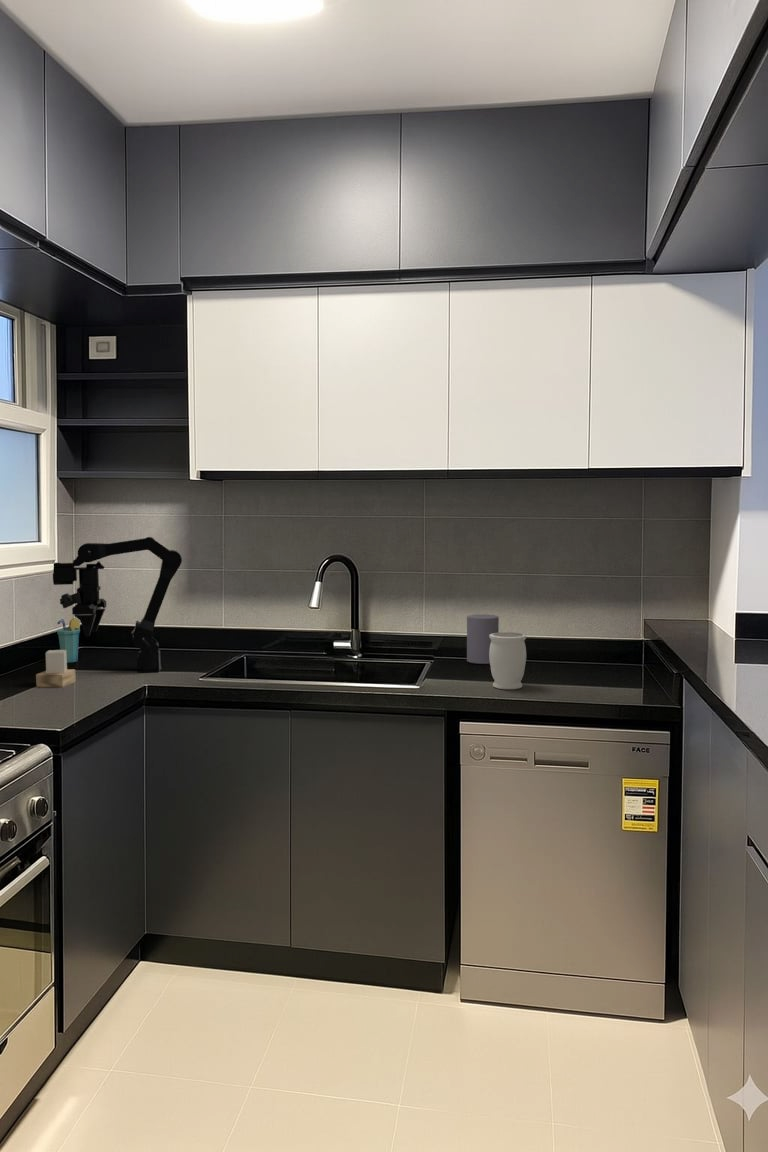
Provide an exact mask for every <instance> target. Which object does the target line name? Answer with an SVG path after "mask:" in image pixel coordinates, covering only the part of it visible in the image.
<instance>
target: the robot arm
mask: <svg viewBox="0 0 768 1152" xmlns="http://www.w3.org/2000/svg"><path fill="white" fill-rule="evenodd" d="M141 551H149V552H151V553H152V554H153V555H155V556H156V557H157V558H159V559H160V560H161V565H160V570H159V577H158V579H157V581H156V584H155V587H154V588H153V592H152V595H151V598H150V600H149V602H148V605H147V608H146V609H145V613H144V615H143V618H141V620H140V621H139V620H136V621H135V626H134V628H133V630H132V631H131V636H132V643H133V644H134V646H135V647H136V648H138V649H139V651H138V655H137V657H136V670H137V673H158V672H160V671H161V669H162V668H163V667H162V666H161V649H159V648H160V646H159V642H158V641H157V640H156V639H155V638H154V637H153V636H154V631H155V625H156V620H157V617H158V615H159V613H160V609H161V607H162V604H163V601H164V598H165V596H166V594H167V592H168V588H169V585H170V583H171V581H172V579H173V578H174V576H175V575H176V573H177V572H178V570H179V569H180V566H181V565H182V562H183V559H182V556H181V554H180V553H179V552H178V551H177V550H175V549H168V548H167V547H166V546H164V545H163V544H161V543H159V542H158V541H157V540H156V539H155V538H154V537H152V536H147V537H145V538H138V539H137V538H136V539H131V540H124V541H119V542H118V541H117V542H111V543H108V542H107V543H102V542H101V543H100V542H86V543H84V544H82V545H80V546H79V547H78V549H77V556H76V557H75V559H73V560H72V562H54V563H53V573H52V583H53V585H54V586H62V585H63V586H65V585H67V586H68V585H69V586H70V585H74V582H78V585H79V586H78V587H77V589H76V592H75V593H72V594H70V593H68V592H67V593H65V594H62V595H61V596H60V597H61V598H60V599H59V604H60V605H62V608H63V609H67V608H69V607H71V606H72V605H74V606H73V607H72V608H71V610H72V611H71V612H72V613H71V615H73V616H74V618H76V619H78V620H79V622H80V625H81V627H82V631H83V633H84V636H85V637H90V635H91V632H92V633H96V632H97V631H98V627H99V626H100V623H101V621H102V618H103V615H104V614H105V611H106V608H107V601H106V600H105V599H104V598H100V590H101V587H102V586H100V584H99V583H100V580H99V579H100V578H99V570H105V567H106V566H104V565H103V564H102V563H101V561H100V560H101V559H104V558H106V557H109V556H114V555H116V556H117V555H122V554H128V553H134V552H141ZM98 560H99V561H98ZM95 561H97V562H96V563H92V562H95ZM84 563H86V564H85V566H84V567H82V566H81V565H82V564H84ZM80 566H81V567H80Z"/></svg>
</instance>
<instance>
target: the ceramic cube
mask: <svg viewBox="0 0 768 1152" xmlns="http://www.w3.org/2000/svg"><path fill="white" fill-rule="evenodd" d="M67 669H68V663H67V654H66V650H60V649H53V650H52V649H49V650H47V651H46V652H45V671H46V674H49V673H65V672H66V670H67Z"/></svg>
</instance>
